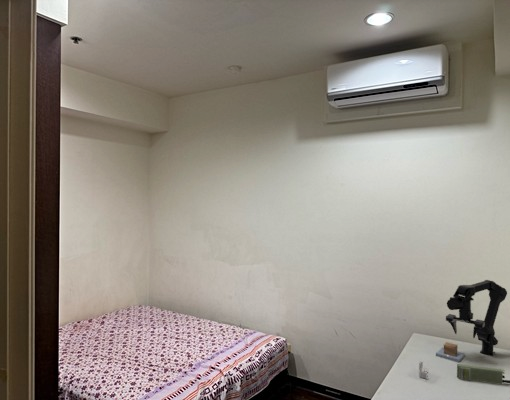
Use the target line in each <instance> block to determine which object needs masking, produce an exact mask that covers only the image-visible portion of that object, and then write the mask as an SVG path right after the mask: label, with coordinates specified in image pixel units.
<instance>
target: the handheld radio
mask: <svg viewBox="0 0 510 400" xmlns="http://www.w3.org/2000/svg"><path fill="white" fill-rule="evenodd" d="M456 378H457V379H461V380H467V381H476V382H483V383H491V384H497V383H499V384H498V385H503V384H502V383H504V384H505V383H506V384H510V380H508V379H505V378H506V376H505V369H502V368H495V367H488V366H487V367H486V366H480V365H479V366H477V365H471V364H470V365H469V364H461V363H457V365H456Z"/></svg>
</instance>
